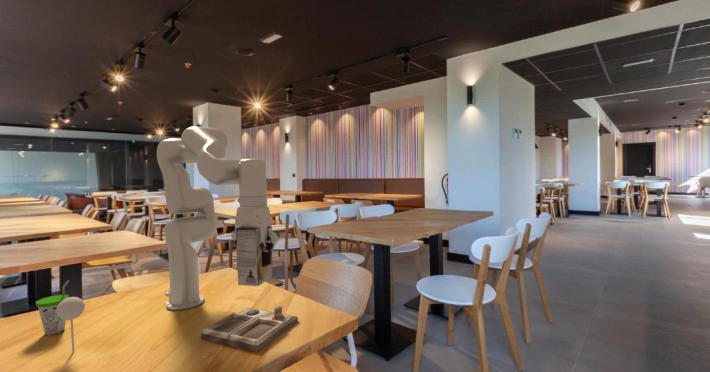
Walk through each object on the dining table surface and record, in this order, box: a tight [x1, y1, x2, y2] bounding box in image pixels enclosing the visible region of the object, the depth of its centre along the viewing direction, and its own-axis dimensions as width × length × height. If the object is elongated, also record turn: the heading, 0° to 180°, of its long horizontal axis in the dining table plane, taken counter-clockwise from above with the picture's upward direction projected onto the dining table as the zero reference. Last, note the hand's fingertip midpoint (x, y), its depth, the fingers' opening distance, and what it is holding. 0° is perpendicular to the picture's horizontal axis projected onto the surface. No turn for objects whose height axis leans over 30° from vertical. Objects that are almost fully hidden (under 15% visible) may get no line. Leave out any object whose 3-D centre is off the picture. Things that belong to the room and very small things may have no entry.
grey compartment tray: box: [200, 305, 299, 353], centre depth 104 cm, size 20×20×5 cm
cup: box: [35, 280, 70, 336], centre depth 105 cm, size 8×8×15 cm
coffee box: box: [235, 227, 273, 287], centre depth 98 cm, size 9×6×16 cm
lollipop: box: [56, 296, 86, 353], centre depth 93 cm, size 6×6×15 cm
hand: (255, 263), depth 98 cm, fingers closed on coffee box, 7 cm apart
